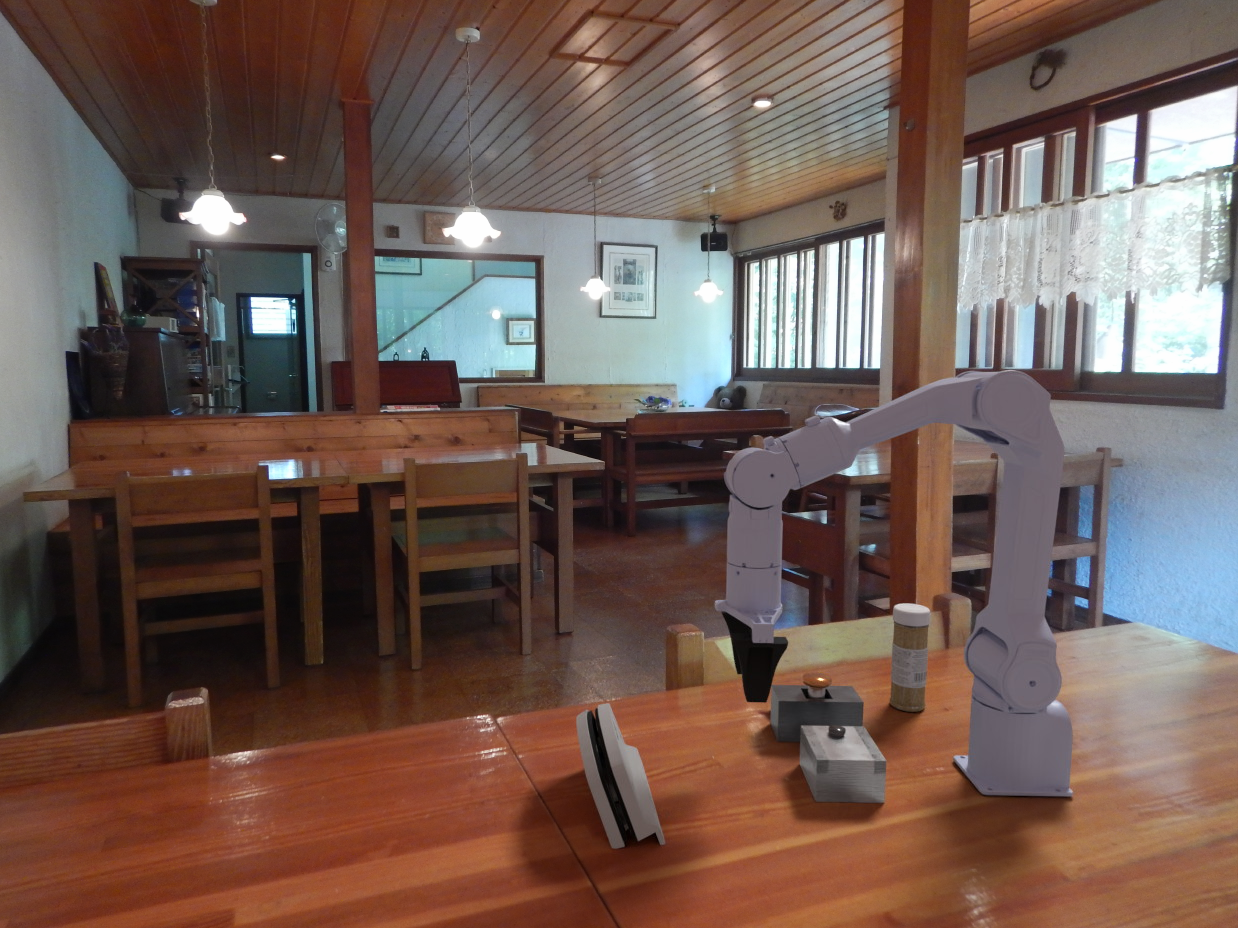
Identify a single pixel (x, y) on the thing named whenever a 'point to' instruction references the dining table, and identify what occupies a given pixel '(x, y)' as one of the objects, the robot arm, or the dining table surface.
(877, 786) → the block
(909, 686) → the sprinkles bottle
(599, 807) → the grey slotted block
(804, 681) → the pin
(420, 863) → the dining table surface
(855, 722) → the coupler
